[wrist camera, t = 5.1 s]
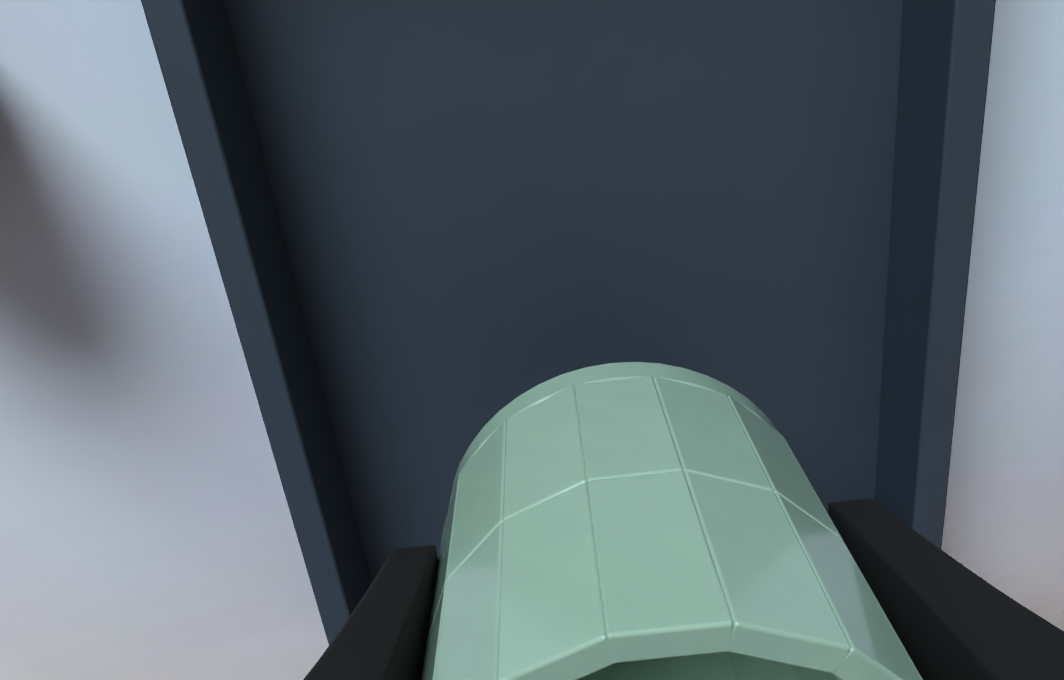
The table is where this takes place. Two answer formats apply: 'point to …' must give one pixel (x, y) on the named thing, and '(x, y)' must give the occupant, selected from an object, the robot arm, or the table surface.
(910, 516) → the tray
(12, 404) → the table surface
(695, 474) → the green cup
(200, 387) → the table surface
